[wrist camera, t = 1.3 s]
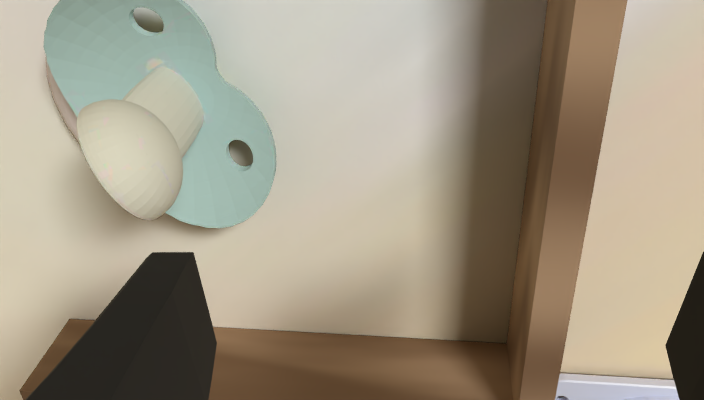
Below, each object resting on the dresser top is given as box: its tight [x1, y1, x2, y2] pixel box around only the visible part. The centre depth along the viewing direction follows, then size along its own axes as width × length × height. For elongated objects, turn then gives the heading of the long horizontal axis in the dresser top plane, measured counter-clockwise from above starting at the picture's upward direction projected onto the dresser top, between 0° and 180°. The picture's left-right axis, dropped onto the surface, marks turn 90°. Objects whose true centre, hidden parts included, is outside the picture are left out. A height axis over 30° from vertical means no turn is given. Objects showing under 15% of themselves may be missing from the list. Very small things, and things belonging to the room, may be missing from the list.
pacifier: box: [44, 0, 276, 228], centre depth 17 cm, size 7×6×6 cm
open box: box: [20, 0, 627, 400], centre depth 18 cm, size 20×17×4 cm
